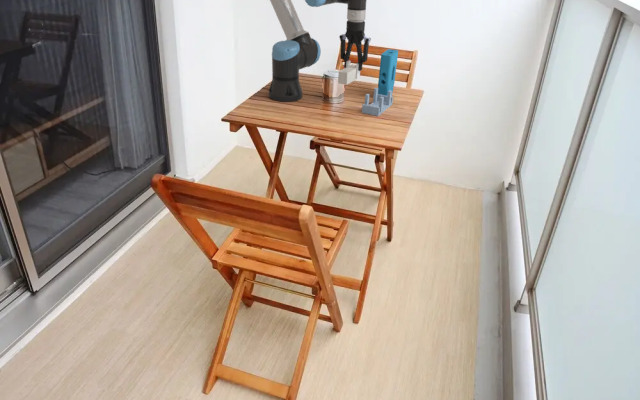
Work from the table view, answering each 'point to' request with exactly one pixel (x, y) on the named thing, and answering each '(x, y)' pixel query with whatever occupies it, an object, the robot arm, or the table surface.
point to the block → (387, 71)
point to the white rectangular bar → (347, 75)
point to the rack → (377, 103)
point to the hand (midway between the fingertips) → (352, 76)
